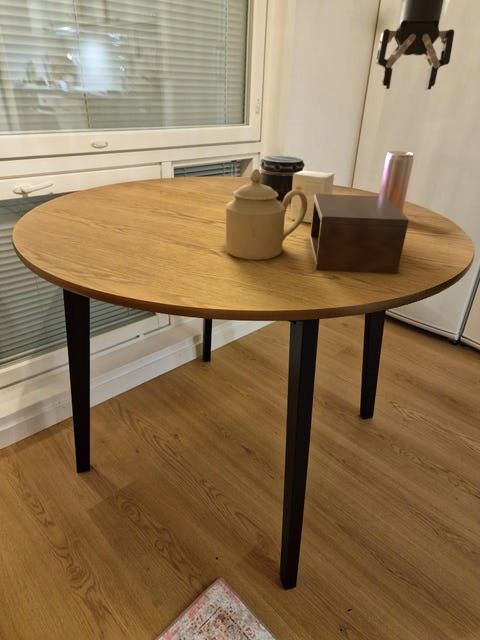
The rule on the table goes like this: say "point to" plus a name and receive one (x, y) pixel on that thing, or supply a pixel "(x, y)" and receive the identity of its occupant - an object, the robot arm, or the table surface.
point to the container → (280, 173)
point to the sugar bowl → (258, 220)
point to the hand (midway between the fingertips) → (407, 89)
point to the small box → (309, 190)
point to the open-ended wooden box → (357, 233)
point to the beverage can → (396, 177)
